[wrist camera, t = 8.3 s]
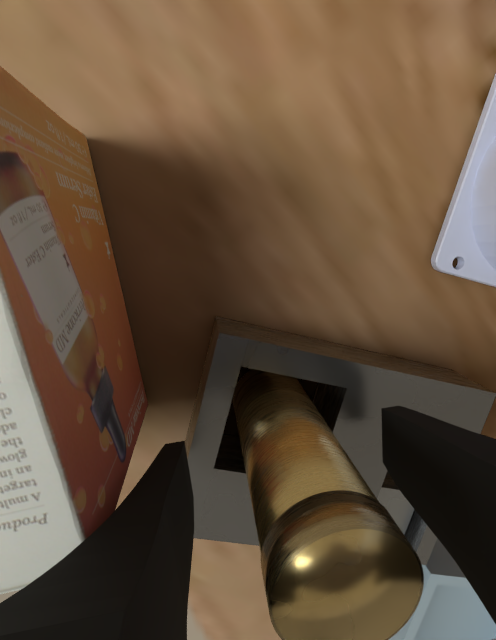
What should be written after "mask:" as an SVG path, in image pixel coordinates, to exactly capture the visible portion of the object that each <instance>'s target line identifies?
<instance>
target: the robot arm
mask: <svg viewBox="0 0 496 640" xmlns="http://www.w3.org/2000/svg"><path fill="white" fill-rule="evenodd" d="M455 258H457V260H458V263H457V265H456V267H455V268H453V265H452V263H453V260H454V259H455ZM431 264H432V267H433V268H434V269H435V270H437V271H439V272H442V273H446V274H450V275H453V276H457V277H460V278H464V279H467V280H471V281H475V282H478V283H482V284H485V285H489V286H492V287H496V74H495V77H494V79H493V82H492V85H491V88H490V91H489V94H488V97H487V100H486V102H485V105H484V108H483V111H482V114H481V117H480V120H479V122H478V125H477V128H476V131H475V134H474V137H473V140H472V143H471V145H470V148H469V151H468V154H467V157H466V160H465V163H464V165H463V168H462V171H461V174H460V177H459V180H458V183H457V185H456V188H455V191H454V194H453V197H452V200H451V203H450V206H449V208H448V211H447V214H446V217H445V220H444V223H443V226H442V228H441V231H440V234H439V237H438V240H437V243H436V246H435V249H434V251H433V254H432V258H431ZM381 413H382V457H383V464H384V465H385V467H386V469H387V471H388V472H389V474H390V476H391V477H392V479H393V481H394V482H395V484H396V486H397V487H398V489H399V490H400V491H401V493H402V494H403V495H404V497H405V498H406V499H407V500H408V502H409V503H410V504H411V506H412V507H413V508H414V509H415V511H416V512H417V513H418V514H419V516H420V517H421V518H422V519H423V521H424V522H425V523H426V524H427V526H428V527H429V528H430V529H431V531H432V532H433V533H434V535H435V536H436V537H437V538H438V540H439V541H440V542H441V543H442V545H443V546H444V547H445V548H446V550H447V551H448V552H449V554H450V555H451V556H452V558H453V559H454V561H455V562H456V563H457V565H458V566H459V568H460V569H461V571H462V572H463V574H464V576H465V577H466V579H467V580H468V582H469V583H470V585H471V586H472V588H473V589H474V591H475V592H476V594H477V595H478V597H479V599H480V600H481V602H482V603H483V605H484V607H485V608H486V610H487V611H488V613H489V615H490V616H491V618H492V619H493V621H494V623H495V624H496V439H494V438H491V437H488V436H484V435H481V434H478V433H475V432H472V431H469V430H466V429H464V428H461V427H458V426H455V425H453V424H450V423H447V422H444V421H442V420H439V419H436V418H434V417H431V416H428V415H426V414H423V413H420V412H418V411H415V410H412V409H409V408H406V407H402V406H393V407H387V408H381ZM193 537H194V496H193V490H192V484H191V478H190V471H189V465H188V459H187V453H186V447H185V441H181V442H175V443H169V444H165V445H164V446H163V448H162V449H161V451H160V452H159V454H158V455H157V457H156V458H155V460H154V461H153V462H152V464H151V465H150V467H149V468H148V470H147V471H146V472H145V474H144V475H143V477H142V478H141V479H140V481H139V482H138V483H137V485H136V486H135V487H134V489H133V490H132V491H131V492H130V494H129V495H128V496H127V497H126V498H125V500H124V501H123V502H122V503H121V504H120V506H119V507H118V508H117V509H116V510H115V511H114V512H113V513H112V514H111V515H110V517H109V518H108V519H107V520H106V521H105V522H104V523H103V524H101V525H100V526H99V527H98V528H97V529H96V530H95V531H94V532H93V533H92V534H91V535H90V536H89V537H88V538H86V539H85V540H84V541H83V542H82V543H81V544H80V545H78V546H77V547H76V548H75V549H74V550H73V551H71V552H70V553H69V554H68V555H67V556H66V557H64V558H63V559H62V560H61V561H59V562H58V563H57V564H56V565H54V566H53V567H52V568H50V569H49V570H48V571H46V572H45V573H44V574H42V575H41V576H40V577H38V578H37V579H35V580H34V581H33V582H31V583H30V584H29V585H27V586H26V587H24V588H23V589H21V590H20V591H19V592H17V593H16V594H14V595H12V596H11V597H9V598H8V599H6V600H5V601H3V602H1V603H0V640H187V606H188V593H189V582H190V571H191V560H192V549H193ZM492 640H496V639H492Z"/></svg>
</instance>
